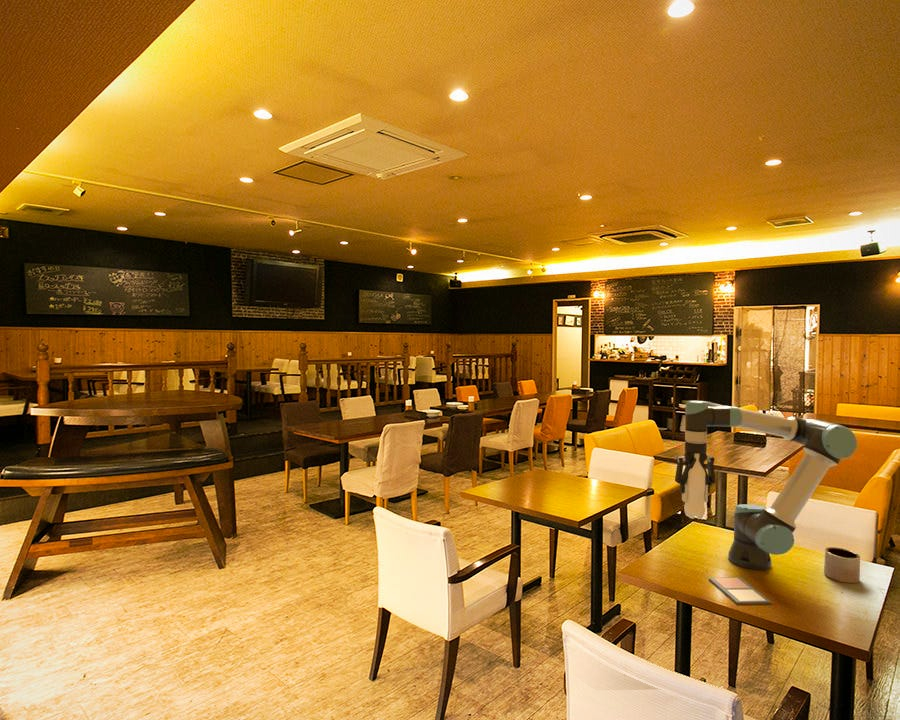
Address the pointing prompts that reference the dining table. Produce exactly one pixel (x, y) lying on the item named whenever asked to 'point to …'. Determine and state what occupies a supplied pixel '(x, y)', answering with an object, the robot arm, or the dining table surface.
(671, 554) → the dining table surface
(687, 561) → the dining table surface
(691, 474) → the water bottle
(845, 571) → the planter
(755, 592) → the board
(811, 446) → the robot arm
